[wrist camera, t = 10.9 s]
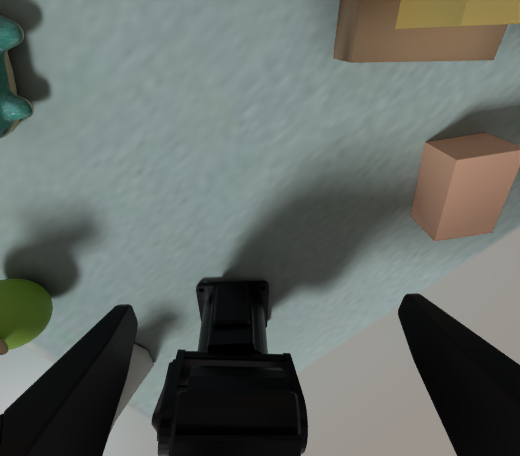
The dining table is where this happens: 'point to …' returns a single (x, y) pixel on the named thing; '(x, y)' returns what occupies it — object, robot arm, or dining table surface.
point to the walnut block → (407, 37)
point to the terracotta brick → (464, 185)
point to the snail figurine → (22, 312)
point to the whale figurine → (10, 80)
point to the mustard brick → (456, 13)
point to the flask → (134, 376)
